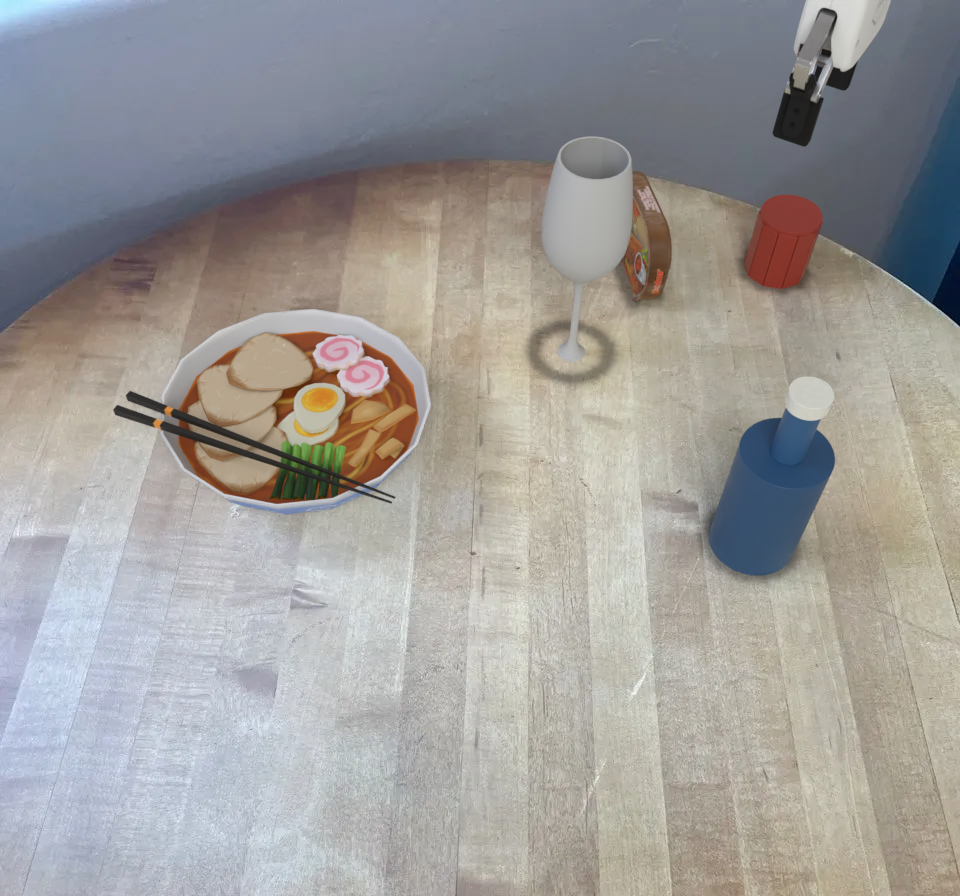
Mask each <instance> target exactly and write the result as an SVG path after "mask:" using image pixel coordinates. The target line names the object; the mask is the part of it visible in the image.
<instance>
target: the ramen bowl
mask: <svg viewBox="0 0 960 896" xmlns="http://www.w3.org/2000/svg"><path fill="white" fill-rule="evenodd" d="M125 398H126V400H127V402H130V403H132V404H134V405H138V406H140V407H143V408H147V409H148V410H151V411H154V412H157V413H160V419H158V418H156V417H153V416H150V415H148V414H145V413H141V412H139V411H137V410H133V409H131V408H127V407H125V406H121V405H119V404H116V406H115V407H114V408H113V409H112V411H113V414H114V416H118V417H120V418H123V419H126V420H129V421H133V422H136V423H139V424H141V425H144V426H148V427H150V428H151V427H152V428H153V429H159V431H160V432H159V434H160V436H161V438H162V440H163V442H164V443H165V445H166V446H167V448H168V449H169V452H170V453H171V455H172V457H173V458H174V460H175V462H176V463H177V465H178V466H179V468H180V470H181V471H182V472H184V473H185V474H186V475H188V476H190V477H191V478H193V479H195V481H197V482H199V483H200V484H202V485H203V486H205V487H206V488H208V489H209V490H211V491H212V492H214V493H216V494H217V495H219V496H220V497H221V498H223V499H225V500H226V501H228V502H229V503H232V504H234V505H237V506H239V507H240V506H241V507H246V508H251V509H255V510H260V511H265V512H270V513H276V514H280V515H294V514H303V513H312V512H322V511H331V510H334V509H336V508H338V507H340V506H343V505H345V504H347V503H349V502H352V501H353V500H356V499H357V498H360V497H362V496H366V497H370V498H371V499H375V500H379V501H381V502H384V503H388V504H392V503H393V501H391V500H389V499H385V498H383V497H380V496H378V495H374V494H372V493H371V492H375V493H377V494H380V495H383V496H386V497H389V498H391V499H394V500H395V499H396V496H395V495H392V494H390V493H387V492H384V491H382V490H379V489H377V488H378V487H379V486H380V485H381V484H382V483H383V482H384V481H385V480H386V479H387V478H388V477H389V476H390V475H391V474H392V473H394V471H396V469H398V468H399V466H401V464H403V463H404V462H405V461H406V460H407V459H408V458H409V457H410V456H411V455H412V453H413V452H414V451H415V449H416V447H418V444H419V442H420V439H421V436H422V433H423V430H424V427H425V424H426V422H427V419H428V416H429V413H430V410H431V408H432V403H431V397H430V391H429V386H428V379H427V372H426V368H425V367H424V365H423V364H422V363H421V362H420V360H418V359H417V357H416V356H415V355H414V353H413V352H412V351H411V350H410V349H409V348H408V346H407V345H406V343H404V341H403V340H402V339H401V338H400V337H399V336H398V335H395V334H393V333H391V332H390V331H388V330H387V329H384V328H382V327H380V326H379V325H377V324H375V323H373V322H371V321H369V320H367V319H366V318H364V317H361V316H358V315H352V314H347V313H341V312H335V311H329V310H322V309H317V308H307V309H296V310H294V309H293V310H284V311H274V312H273V311H272V312H263V313H260V314H258V315H255V316H252V317H250V318H248V319H244V320H242V321H240V322H237V323H235V324H234V323H233V324H232V325H229V326H227V327H224V328H221V329H219V330H217V331H215V332H214V333H213V334H212V335H210V337H207V338H206V339H205V340H204V341H203V342H202V343H200V344H198V346H196V347H195V348H194V349H192V350H191V351H190V352H189V353H187V354H186V355H184V356H183V357H182V358H181V359H180V361H179V363H178V364H177V366H176V368H175V370H174V371H173V373H172V375H171V377H170V379H169V381H168V382H167V384H166V386H165V388H164V389H163V392H162V394H161V395H160V401H157V400H154V399H152V398H149V397H147V396H144V395H142V394H139V393H137V392H134V391H132V390H129V391H128V392H127V393H126V394H125Z"/></svg>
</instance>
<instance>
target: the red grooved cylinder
mask: <svg viewBox="0 0 960 896" xmlns="http://www.w3.org/2000/svg"><path fill="white" fill-rule="evenodd" d="M823 219H824V216H823V212H822V210H821V208H820V207H819V206H818V205H817V204H816V203H815V202H814V201H812V200H810V199H808V198H806V197H803V196H800V195H795V194H779V195H773V196H772V197H769V198H768V199H766V200H765V201H764V202H763V203H762V205H761V208H760V210H759V211H758V214H757V218H756V221H755V225H754V228H753V231H752V235H751V238H750V241H749V246H748V249H747V253H746V255H745V260H744V264H743V265H744V268H745V271H746V275H747V276H748V277H749V278H750V279H751V280H753V281H754V282H755V283H757V284H758V285H760V286H763V287H766V288H773V289H778V290H781V289H782V290H783V289H787V288H791V287H794V286H797V285H799V284H800V283H801V281H802V279H803V277H804V276H805V274H806V272H807V269H808V267H809V263H810V260H811V257H812V254H813V252H814V249H815V246H816V244H817V241H818V238H819V234H820V231H821V229H822V226H823V223H824V220H823Z"/></svg>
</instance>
